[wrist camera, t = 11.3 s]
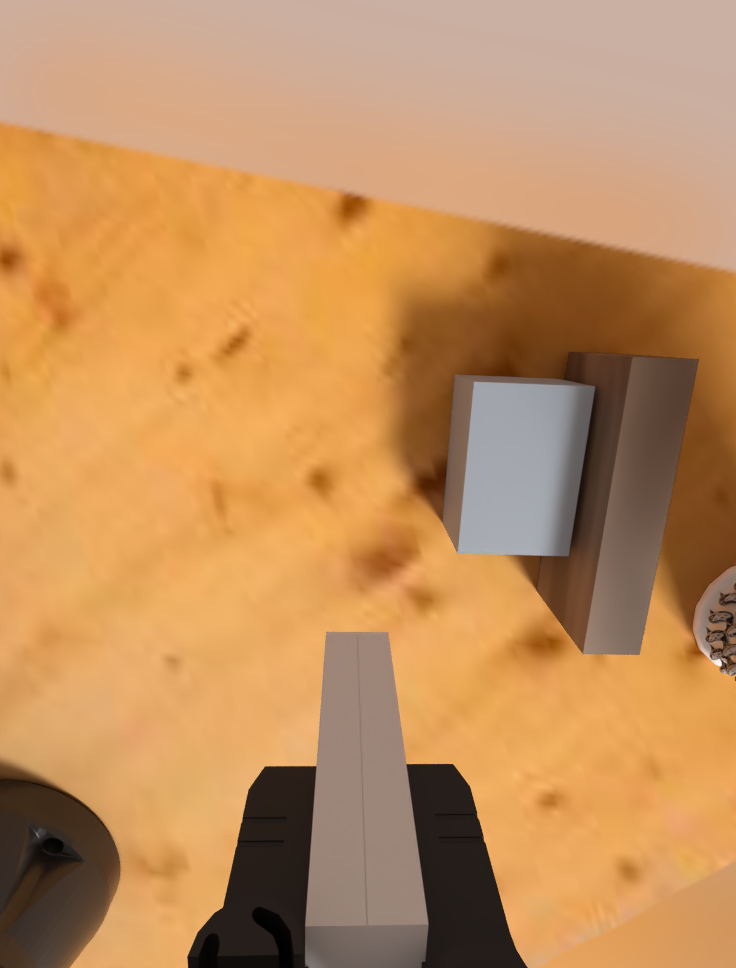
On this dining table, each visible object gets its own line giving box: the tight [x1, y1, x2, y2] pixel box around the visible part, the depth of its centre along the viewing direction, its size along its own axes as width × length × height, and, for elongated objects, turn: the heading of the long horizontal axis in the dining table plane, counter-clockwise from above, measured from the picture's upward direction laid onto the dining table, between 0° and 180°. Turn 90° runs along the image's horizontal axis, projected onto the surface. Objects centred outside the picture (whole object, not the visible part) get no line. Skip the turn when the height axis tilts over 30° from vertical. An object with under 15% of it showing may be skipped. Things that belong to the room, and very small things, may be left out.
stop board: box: [537, 352, 699, 655], centre depth 29 cm, size 3×15×7 cm, turn 178°
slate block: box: [442, 374, 595, 556], centre depth 29 cm, size 6×9×5 cm, turn 178°
